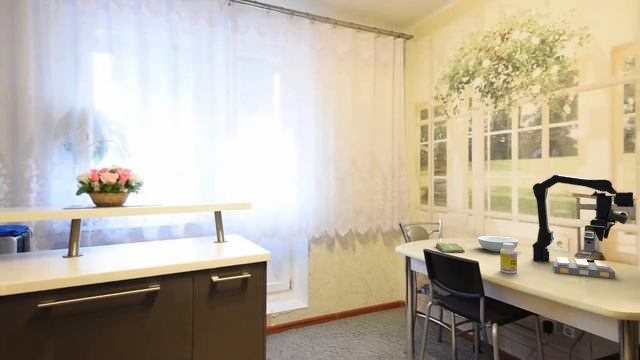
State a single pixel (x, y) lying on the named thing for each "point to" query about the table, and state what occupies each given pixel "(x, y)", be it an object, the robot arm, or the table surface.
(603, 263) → the block
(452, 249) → the washcloth
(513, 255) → the supplement bottle
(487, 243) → the serving bowl
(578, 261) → the rocker
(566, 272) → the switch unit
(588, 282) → the table surface
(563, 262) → the rocker
